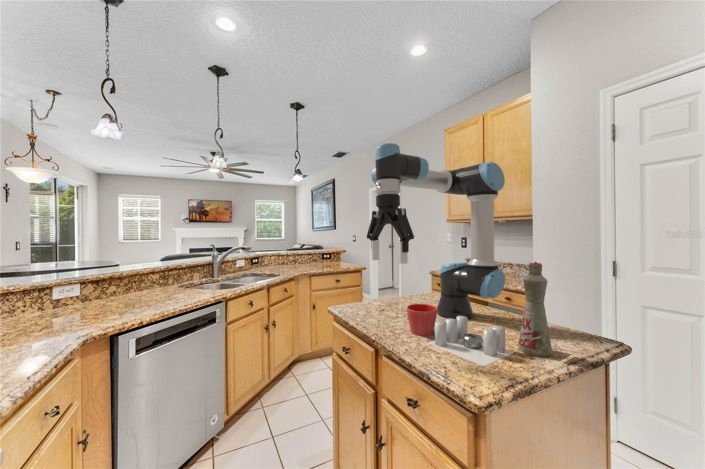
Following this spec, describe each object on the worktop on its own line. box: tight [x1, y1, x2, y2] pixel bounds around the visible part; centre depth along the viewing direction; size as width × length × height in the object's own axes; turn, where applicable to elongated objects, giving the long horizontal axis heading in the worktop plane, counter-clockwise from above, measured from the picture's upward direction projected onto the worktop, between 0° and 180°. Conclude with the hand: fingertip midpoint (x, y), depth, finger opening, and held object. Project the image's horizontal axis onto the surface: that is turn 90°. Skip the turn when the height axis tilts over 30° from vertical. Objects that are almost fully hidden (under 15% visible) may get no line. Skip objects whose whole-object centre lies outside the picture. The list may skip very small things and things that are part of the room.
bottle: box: [517, 261, 554, 358], centre depth 87 cm, size 9×9×28 cm
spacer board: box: [427, 316, 515, 367], centre depth 90 cm, size 16×20×8 cm
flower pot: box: [406, 303, 438, 337], centre depth 104 cm, size 11×11×10 cm
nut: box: [463, 333, 483, 350], centre depth 91 cm, size 6×6×3 cm
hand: (388, 261), depth 90 cm, fingers open, 13 cm apart
